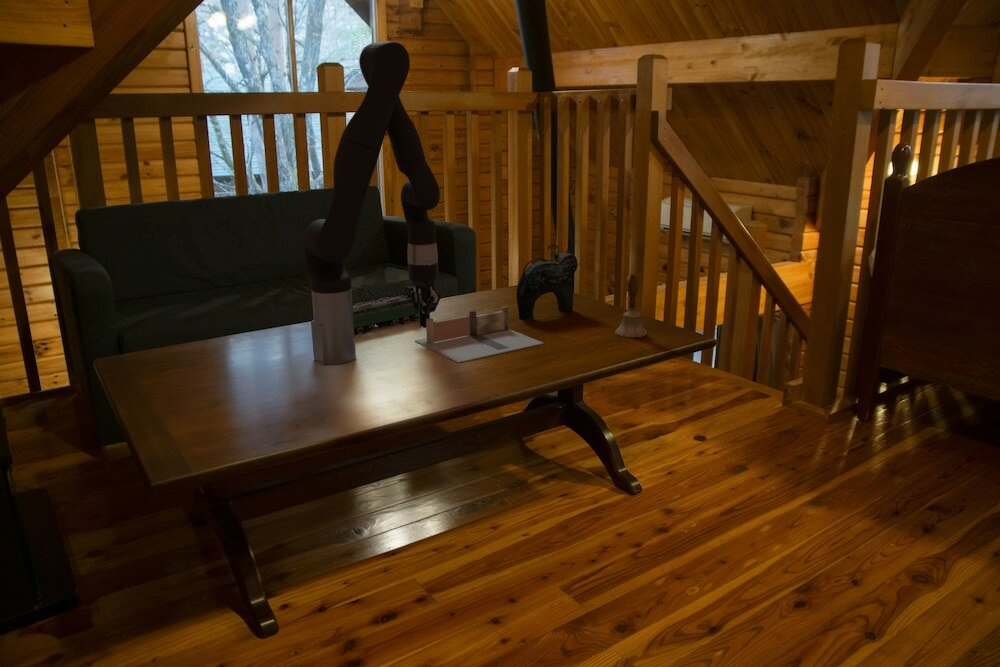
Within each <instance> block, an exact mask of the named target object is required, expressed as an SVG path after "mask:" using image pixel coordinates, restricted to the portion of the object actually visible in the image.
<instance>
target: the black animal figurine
mask: <svg viewBox="0 0 1000 667" xmlns="http://www.w3.org/2000/svg"><path fill="white" fill-rule="evenodd" d="M551 247H556V249H557V252H552V254H553V255H554V257H553V258H552V259H544V258H541V257H540V258H539V257H536V258H533V259H531V260H530V261H529V260H528V262H526V264H525V265H524V267H523V271H522V273H521V275H520V276H519V277H520V278H519V280H518V283H517V286H516V298H515V299H516V303H517V310H518V318H519V319H522V320H524V321H525V320H531V319H533V318H534V309H535V305H536V303H537V300H538V299H539V298H541V297H542V296H543V295H545V294H549V293H553V294H554V296H555V298H556V303H557V310H559V311H560V312H562V313H564V312H565V313H566V312H570V311H573V308H574V278H573V277H574V275H575V272H576V271H577V270H578V259H577V256H576V255H574V254H572V253H571V251H570V249H569V248H568V247H567V249H566V250H565V252H559V251H560V250H559V247H558V245H556V244H554V243H552V244H550V245H548V246H547V251H549V250H550V249H551ZM537 260H540V261H538V262H535V263H533V262H534V261H537ZM530 263H532V264H530ZM529 264H530V265H529Z"/></svg>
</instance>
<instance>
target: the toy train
mask: <svg viewBox="0 0 1000 667" xmlns="http://www.w3.org/2000/svg"><path fill="white" fill-rule="evenodd" d="M411 287H412V286H410V285H405V286H404V290H403V291H402V294H401V295H400V296H399V295H398V296H392V297H391V296H390V295H386V296H382V297H378V298H377V297H376V298H375V299H374V300H373V299H372V298H371V299H367V300H366V299H365V300H362V301H357V303H355V304H353V320H354V334H357V335H362V334H363V333H364V332H365V331H369V332H374V331H375V329H376V326H377V327H380V328H382V327H385V326H387V325H392V326H393V327H397V326H399V324H400V323H403V324H408V323H410V322H411V321H413V320H414V322H418V321H419V322H420V313H419V312H418V309H415V307H414V305H413V302H412V299H411V297H410V294H409V291H408V288H411Z"/></svg>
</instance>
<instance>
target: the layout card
mask: <svg viewBox="0 0 1000 667" xmlns="http://www.w3.org/2000/svg"><path fill="white" fill-rule="evenodd" d="M414 342H415V343H417V344H418V345H419V344H420V345H421V346H423V347H425V348H427V349H429V350H430V351H433V352H435V353H437V354H439V355H440V356H443V357H445V358H446V359H449V360H450V361H453V362H454V363H456V364H461V363H467V362H471V361H474V360H478V359H483V358H488V357H493V356H497V355H500V354H505V353H510V352H515V351H518V350H523V349H524V350H525V349H528V348H532V347H537V346H542V345H544V342H542V341H541V340H537V339H535V338H532V337H530V336H527V335H525V334H523V333H520V332H517V331H515V330H512V329H510V328H509V329H504V330H499V331H494V332H489V333H485V334H480V335H476V336H470V335H467V336H462V337H457V338H453V339H448V340H443V341H438V342H434V343H427V337H426V338H420V339H417V340H414Z"/></svg>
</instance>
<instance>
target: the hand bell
mask: <svg viewBox="0 0 1000 667" xmlns="http://www.w3.org/2000/svg"><path fill="white" fill-rule="evenodd" d="M638 290H639V284H638V279H637V274H635V273H631V274H630V277H629V279H628V282H627V291H628V292H627V293H628V297H629V303H628V310H627V311H625V312H624V313H623V315H622V320H621V322H620V324H619V327H618V328H616V329H615V331H614V333H615V335H616V336H620V337H622V338H628V337H629V339H635V338H634V337H639V338H643V336H644V337H646V336H647V334H648V332H647V330H646V329H645V328H644V327H643V324H642V318H641V313H640V312H638V311H637V310H636V299H637V298H636V297H637V294H638ZM645 335H646V336H645Z"/></svg>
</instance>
